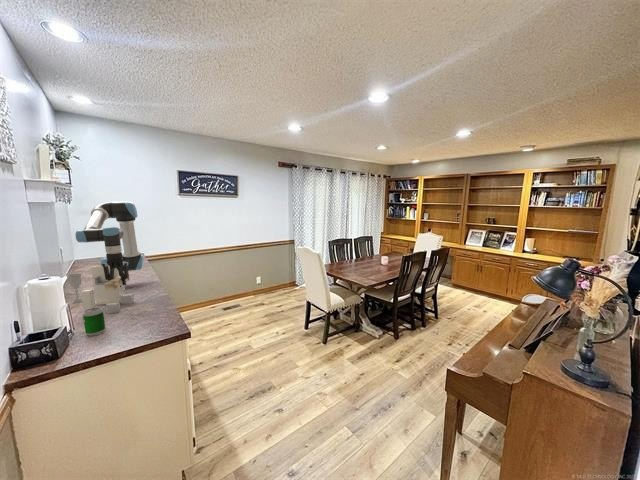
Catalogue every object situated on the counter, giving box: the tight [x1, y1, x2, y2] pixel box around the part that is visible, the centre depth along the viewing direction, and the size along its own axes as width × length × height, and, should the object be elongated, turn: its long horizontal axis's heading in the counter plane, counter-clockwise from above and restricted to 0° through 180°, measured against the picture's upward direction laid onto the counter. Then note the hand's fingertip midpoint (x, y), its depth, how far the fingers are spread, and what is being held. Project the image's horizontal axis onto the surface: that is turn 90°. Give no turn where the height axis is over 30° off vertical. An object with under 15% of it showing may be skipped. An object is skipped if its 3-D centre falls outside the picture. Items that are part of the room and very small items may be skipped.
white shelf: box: [80, 265, 122, 313], centre depth 159 cm, size 20×14×24 cm
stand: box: [105, 293, 135, 314], centre depth 161 cm, size 18×6×5 cm, turn 10°
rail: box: [105, 276, 130, 290], centre depth 160 cm, size 18×4×4 cm, turn 10°
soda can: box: [82, 306, 106, 337], centre depth 129 cm, size 8×8×12 cm
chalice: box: [66, 272, 83, 304], centre depth 170 cm, size 7×7×18 cm
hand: (118, 290), depth 161 cm, fingers closed on rail, 4 cm apart
